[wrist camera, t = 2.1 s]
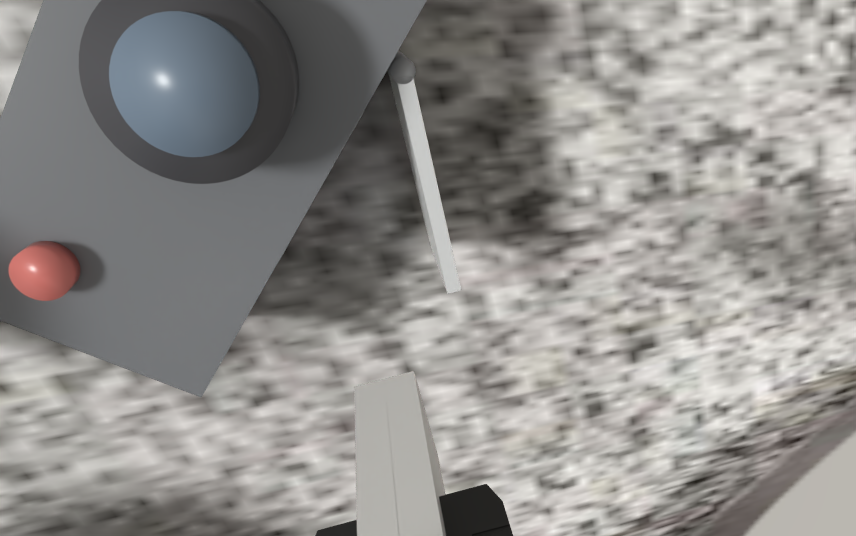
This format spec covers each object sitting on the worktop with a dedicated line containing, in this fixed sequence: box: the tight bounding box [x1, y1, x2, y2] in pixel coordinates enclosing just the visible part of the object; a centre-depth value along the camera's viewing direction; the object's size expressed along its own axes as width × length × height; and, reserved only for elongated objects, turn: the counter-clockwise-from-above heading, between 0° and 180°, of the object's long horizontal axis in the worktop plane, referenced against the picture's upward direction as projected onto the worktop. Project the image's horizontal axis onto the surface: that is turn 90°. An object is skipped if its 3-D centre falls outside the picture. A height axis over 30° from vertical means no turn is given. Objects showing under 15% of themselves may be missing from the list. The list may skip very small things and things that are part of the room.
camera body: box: [0, 0, 427, 397], centre depth 22 cm, size 18×10×10 cm, turn 148°
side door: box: [387, 50, 461, 294], centre depth 25 cm, size 10×1×6 cm, turn 13°
